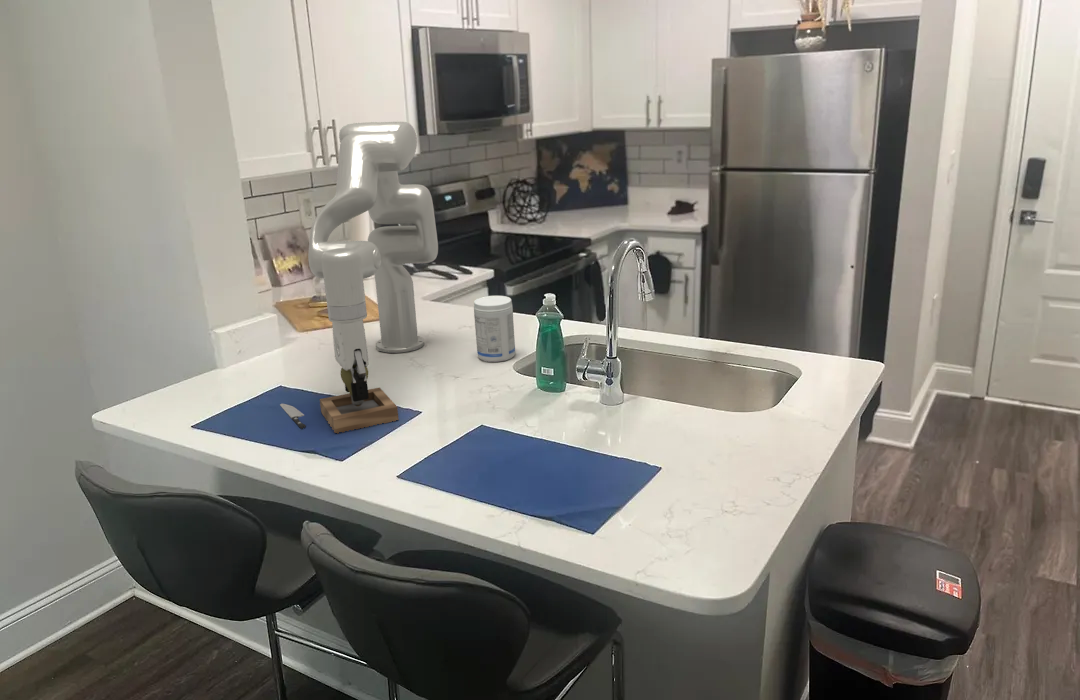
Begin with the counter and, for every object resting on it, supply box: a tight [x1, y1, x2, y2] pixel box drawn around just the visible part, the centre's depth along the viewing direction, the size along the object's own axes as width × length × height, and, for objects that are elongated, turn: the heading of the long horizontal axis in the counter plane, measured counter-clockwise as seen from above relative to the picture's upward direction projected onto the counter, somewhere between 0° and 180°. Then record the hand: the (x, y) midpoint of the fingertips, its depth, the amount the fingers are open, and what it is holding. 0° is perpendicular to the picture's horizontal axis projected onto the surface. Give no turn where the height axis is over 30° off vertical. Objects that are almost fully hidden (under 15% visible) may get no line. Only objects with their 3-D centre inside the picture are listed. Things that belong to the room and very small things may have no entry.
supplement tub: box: [473, 295, 516, 363], centre depth 200 cm, size 10×10×15 cm
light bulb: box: [340, 365, 369, 406], centre depth 166 cm, size 6×6×10 cm
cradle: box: [319, 387, 400, 434], centre depth 168 cm, size 13×13×3 cm
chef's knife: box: [279, 403, 307, 430], centre depth 171 cm, size 19×1×3 cm
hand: (357, 394), depth 167 cm, fingers closed on light bulb, 5 cm apart
